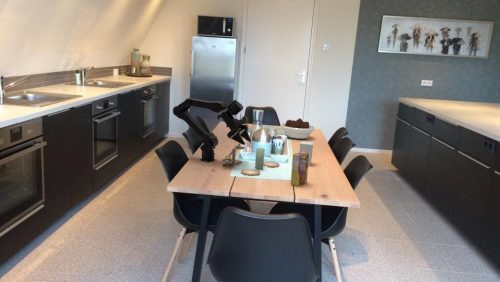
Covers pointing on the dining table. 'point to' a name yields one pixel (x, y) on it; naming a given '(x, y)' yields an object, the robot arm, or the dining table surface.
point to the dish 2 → (271, 164)
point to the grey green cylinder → (259, 158)
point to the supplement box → (307, 149)
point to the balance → (233, 157)
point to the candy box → (299, 168)
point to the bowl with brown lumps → (297, 129)
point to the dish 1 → (250, 172)
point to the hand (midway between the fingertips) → (247, 143)
